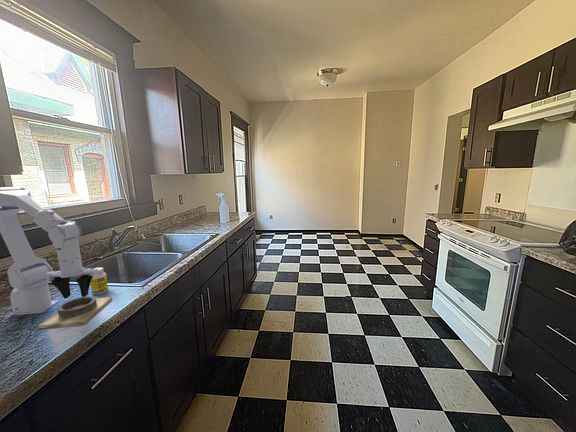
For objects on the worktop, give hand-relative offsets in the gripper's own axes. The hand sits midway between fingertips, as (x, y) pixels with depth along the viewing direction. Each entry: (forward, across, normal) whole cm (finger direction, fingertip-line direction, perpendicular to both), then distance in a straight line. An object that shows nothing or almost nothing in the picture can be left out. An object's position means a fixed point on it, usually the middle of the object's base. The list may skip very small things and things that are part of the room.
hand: (76, 296), depth 85 cm
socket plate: (+6, 0, 0) cm, 6 cm away
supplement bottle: (+6, -2, +16) cm, 17 cm away
